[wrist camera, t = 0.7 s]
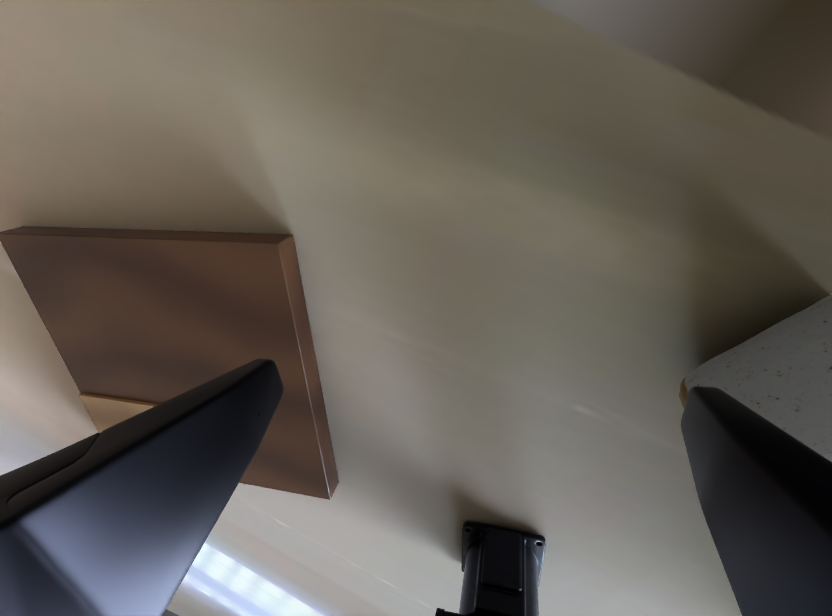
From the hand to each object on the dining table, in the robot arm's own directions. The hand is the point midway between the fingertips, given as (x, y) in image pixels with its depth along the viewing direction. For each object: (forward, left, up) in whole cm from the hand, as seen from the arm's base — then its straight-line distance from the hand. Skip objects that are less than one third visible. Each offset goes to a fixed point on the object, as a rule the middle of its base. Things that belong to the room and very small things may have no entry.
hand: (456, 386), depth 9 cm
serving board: (-12, +23, -15) cm, 30 cm away
